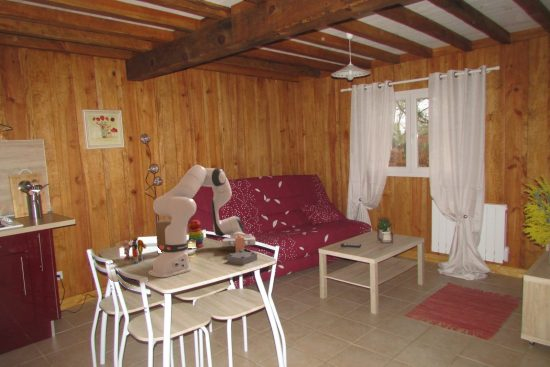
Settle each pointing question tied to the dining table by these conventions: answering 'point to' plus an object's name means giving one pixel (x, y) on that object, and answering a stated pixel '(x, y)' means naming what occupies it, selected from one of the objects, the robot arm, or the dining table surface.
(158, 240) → the block
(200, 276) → the dining table surface
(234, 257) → the charcoal base brick
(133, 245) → the doll family
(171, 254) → the robot arm
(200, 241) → the stacking bear
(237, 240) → the terracotta brick
